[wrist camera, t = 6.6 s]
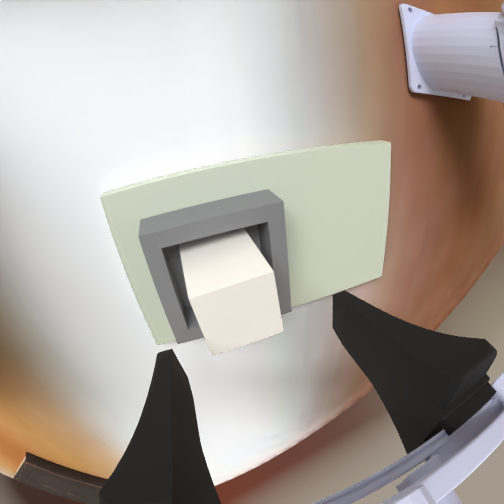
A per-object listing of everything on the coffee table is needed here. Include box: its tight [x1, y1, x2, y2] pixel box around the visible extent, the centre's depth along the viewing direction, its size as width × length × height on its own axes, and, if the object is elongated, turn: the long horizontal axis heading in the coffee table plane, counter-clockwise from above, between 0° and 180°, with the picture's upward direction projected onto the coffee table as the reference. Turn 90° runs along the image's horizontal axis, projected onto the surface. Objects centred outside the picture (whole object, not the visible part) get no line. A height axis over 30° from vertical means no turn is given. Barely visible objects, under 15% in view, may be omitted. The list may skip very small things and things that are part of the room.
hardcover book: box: [14, 452, 108, 504], centre depth 32 cm, size 16×23×2 cm
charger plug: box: [179, 228, 284, 356], centre depth 17 cm, size 4×4×6 cm
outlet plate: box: [100, 140, 391, 345], centre depth 20 cm, size 20×12×4 cm, turn 98°
